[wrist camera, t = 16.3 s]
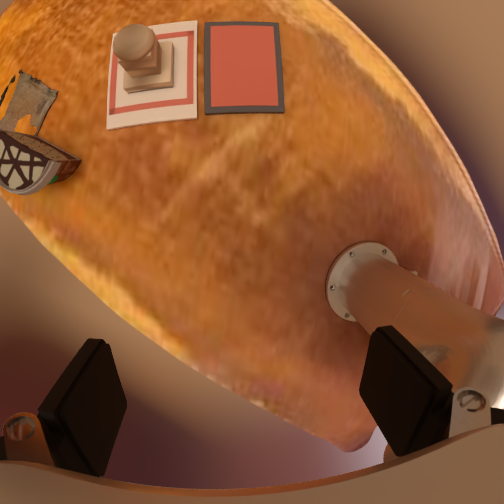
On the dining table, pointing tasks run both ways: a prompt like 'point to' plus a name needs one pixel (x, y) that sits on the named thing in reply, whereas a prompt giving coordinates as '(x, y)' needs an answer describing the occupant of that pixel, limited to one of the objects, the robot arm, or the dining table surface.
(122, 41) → the stamp
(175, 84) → the marked board
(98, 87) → the dining table surface
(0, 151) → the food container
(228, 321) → the dining table surface
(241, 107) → the ink pad
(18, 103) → the parchment
